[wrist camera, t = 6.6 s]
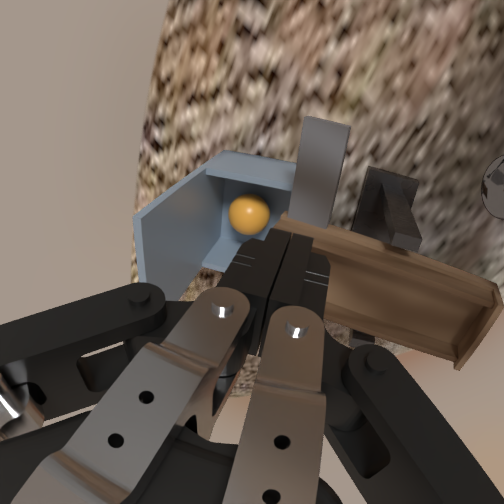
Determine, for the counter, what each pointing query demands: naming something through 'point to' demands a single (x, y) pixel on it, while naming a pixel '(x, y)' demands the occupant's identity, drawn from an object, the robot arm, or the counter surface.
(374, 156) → the counter surface
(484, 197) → the wine glass
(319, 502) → the robot arm
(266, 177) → the grey-blue open bin
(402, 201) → the lever stand
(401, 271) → the lever
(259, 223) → the ball
